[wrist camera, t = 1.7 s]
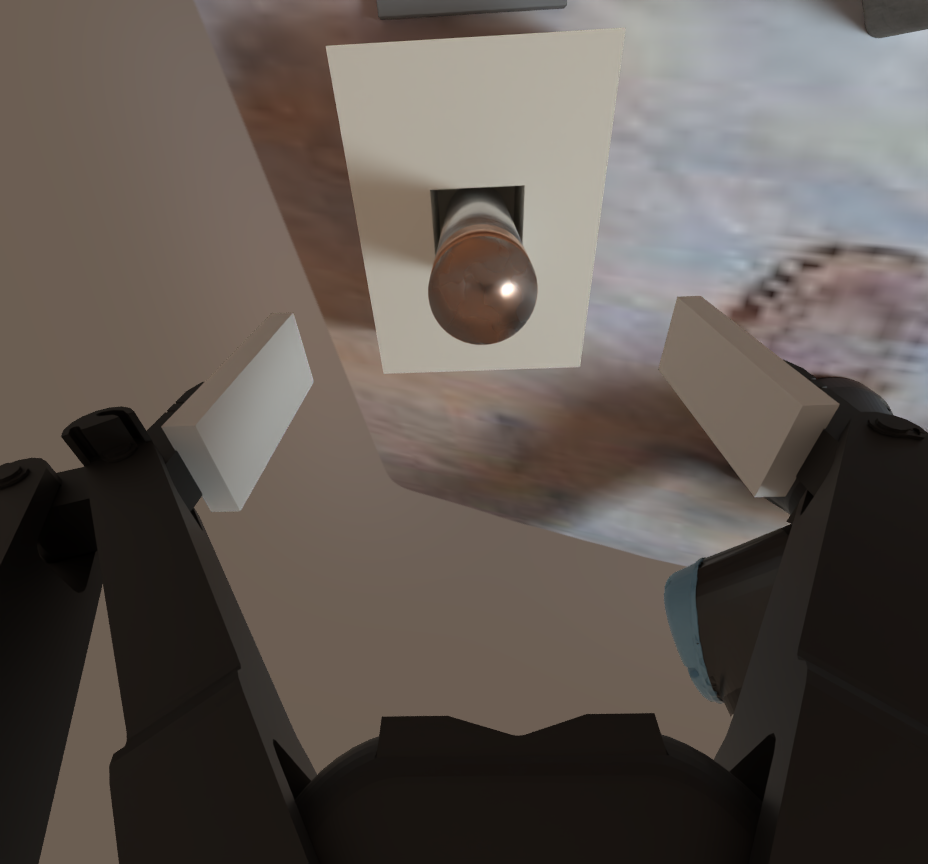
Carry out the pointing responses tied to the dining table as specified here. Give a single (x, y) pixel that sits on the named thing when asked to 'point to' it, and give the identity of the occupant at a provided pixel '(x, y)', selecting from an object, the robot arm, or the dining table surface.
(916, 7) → the hip flask
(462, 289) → the steel plug
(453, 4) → the slate mat
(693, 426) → the dining table surface
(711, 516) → the dining table surface
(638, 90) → the dining table surface
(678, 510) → the dining table surface
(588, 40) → the bore block
